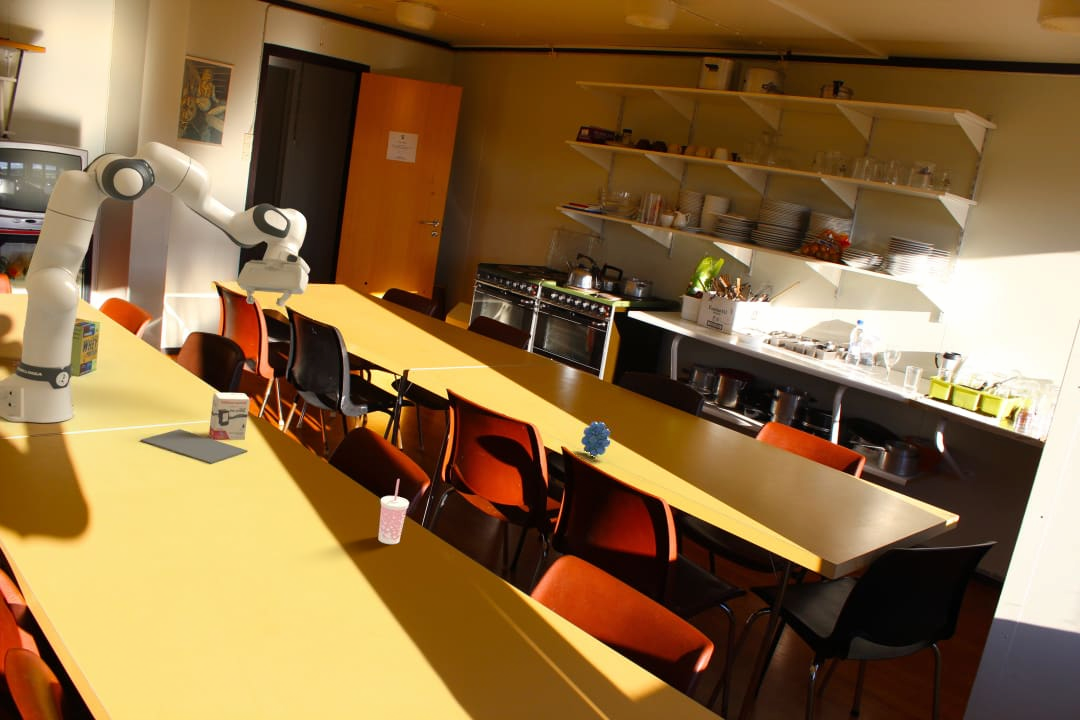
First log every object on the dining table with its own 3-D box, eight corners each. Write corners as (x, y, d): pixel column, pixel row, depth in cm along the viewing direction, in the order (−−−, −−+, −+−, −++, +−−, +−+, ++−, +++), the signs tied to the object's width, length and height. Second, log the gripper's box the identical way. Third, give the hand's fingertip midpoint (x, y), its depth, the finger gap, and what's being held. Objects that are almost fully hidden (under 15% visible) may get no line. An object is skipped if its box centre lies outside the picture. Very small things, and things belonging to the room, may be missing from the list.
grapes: (614, 462, 284) (622, 426, 282) (600, 463, 280) (607, 427, 277) (589, 450, 293) (596, 415, 290) (574, 451, 288) (581, 415, 286)
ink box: (212, 440, 237) (217, 397, 235) (208, 434, 241) (213, 392, 239) (245, 439, 242) (250, 398, 240) (240, 434, 246) (245, 392, 244)
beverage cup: (390, 548, 191) (399, 486, 188) (368, 538, 194) (378, 477, 191) (408, 541, 196) (418, 481, 194) (387, 531, 199) (397, 472, 197)
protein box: (79, 377, 270) (84, 327, 268) (29, 368, 270) (32, 317, 267) (97, 370, 281) (101, 322, 278) (48, 361, 280) (52, 313, 278)
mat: (140, 441, 226) (140, 439, 226) (179, 430, 240) (179, 429, 239) (210, 464, 220) (210, 462, 220) (247, 451, 233) (247, 450, 233)
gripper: (241, 253, 256) (226, 295, 250) (306, 258, 251) (291, 301, 245) (252, 265, 262) (237, 306, 256) (315, 269, 257) (301, 312, 251)
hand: (264, 304), depth 251 cm, fingers open, 8 cm apart
